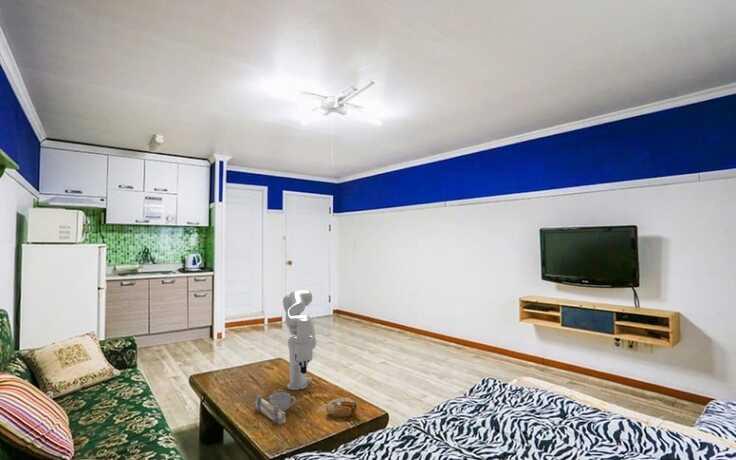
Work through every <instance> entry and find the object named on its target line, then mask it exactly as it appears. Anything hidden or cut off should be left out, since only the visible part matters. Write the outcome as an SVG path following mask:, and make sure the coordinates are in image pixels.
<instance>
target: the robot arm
mask: <svg viewBox="0 0 736 460" xmlns="http://www.w3.org/2000/svg"><path fill="white" fill-rule="evenodd" d="M312 302H313V294H312V292H311V290H307V289H305V290H293V291H291V292H290V293H289V294H287V295H285V296H284V297H283V299H282V304H283V309H284V312H285V323H286V328H288V331H289V334H290V335H291V336H290V337H289V338H288V340H287V346H288V353H289V382H288V383H287V386H286V388H287V389H288V390H290V389H291V390H292V391H299V389H301V390H304V389H306V388H308V382H310V381H312V380H313V378H312V376H309V377H308V376H306V374H307V368H308V365H309V362H312V360H313V356H314V355H313V354H314V353H313V350H314V349H315V348H316V347H317V337H316V332H315V325H314V322H313V320H312V317H311V316H310V315H309V314H301V313H303V312H304V311H305V309H306V307H308V306H309V305H311V303H312Z"/></svg>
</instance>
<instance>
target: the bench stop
mask: <svg viewBox="0 0 736 460" xmlns="http://www.w3.org/2000/svg"><path fill="white" fill-rule="evenodd" d="M255 409H256V412H257V413H261V414H263V415H264V416H266V417H268V418H269V419H270V420H272V423H273V424H276V425H277V424H278V425H279V426H282V425H284V424H286V421H287V420H286V419H287V417H286V415H287V414H286V411H285V412H283V411H282V410H280V409H279V405H272V404H270V401H267V400H265V399H264V398H263V396H262V395H261V394H257V395H256V398H255Z"/></svg>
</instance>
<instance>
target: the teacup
mask: <svg viewBox="0 0 736 460" xmlns="http://www.w3.org/2000/svg"><path fill="white" fill-rule="evenodd" d="M292 399H293V402H291V400H292ZM296 401H297V399H296V397H295V396H294V395H292V396H291V394H290V393H288V392H276V393H273V394H270V395H269V403H270V404H272V405H279V409H280V410H282V411H283V412H285V413H286V411H287V410H288V409H289V408H291V407H292V406H293V405H295V403H296Z"/></svg>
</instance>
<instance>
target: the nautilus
mask: <svg viewBox="0 0 736 460" xmlns="http://www.w3.org/2000/svg"><path fill="white" fill-rule="evenodd" d="M359 409H360V407H358V406H357V403H356V402H355V401H354V400H352V399H351V398H349V397H338V398H335V399H332V400H330V401H329V402H327V403H325V411H326V412H327V413H328V414H329V415H333V416H335V417H337V418H338V417H339V418H345V417H352V418H353V419H354V422H355V421H356V420H357V419H359V420H362V419H361V416H360V413H361V414H362V412H361V411H360V410H359ZM356 416H357V417H356ZM355 417H356V418H355Z"/></svg>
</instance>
